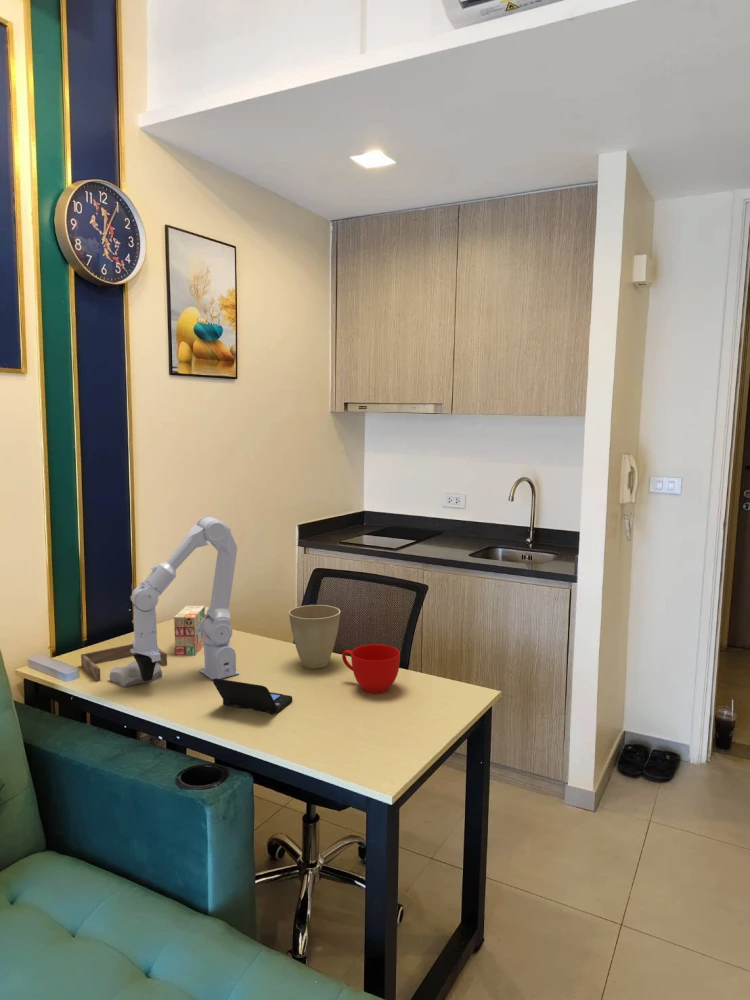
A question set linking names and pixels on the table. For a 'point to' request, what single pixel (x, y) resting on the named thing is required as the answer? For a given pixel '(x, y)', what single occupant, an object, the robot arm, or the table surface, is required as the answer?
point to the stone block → (131, 674)
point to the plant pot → (314, 633)
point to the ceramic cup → (374, 666)
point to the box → (110, 658)
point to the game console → (250, 696)
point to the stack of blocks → (189, 630)
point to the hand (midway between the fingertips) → (147, 680)
